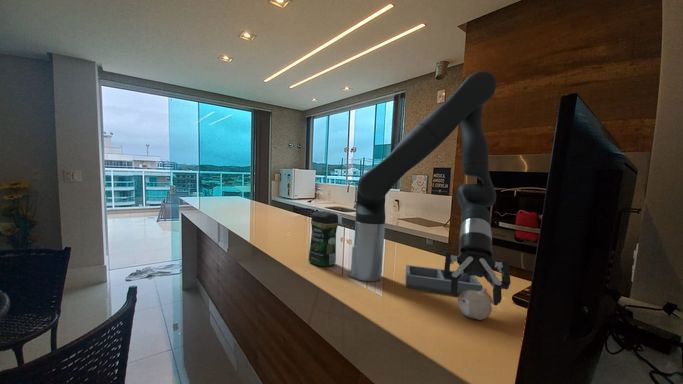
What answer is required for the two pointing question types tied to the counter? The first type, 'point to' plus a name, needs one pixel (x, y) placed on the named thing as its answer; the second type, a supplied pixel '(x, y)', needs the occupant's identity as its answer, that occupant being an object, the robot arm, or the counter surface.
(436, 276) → the tray
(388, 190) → the robot arm
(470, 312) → the garlic bulb
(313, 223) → the coffee jar
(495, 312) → the counter surface
